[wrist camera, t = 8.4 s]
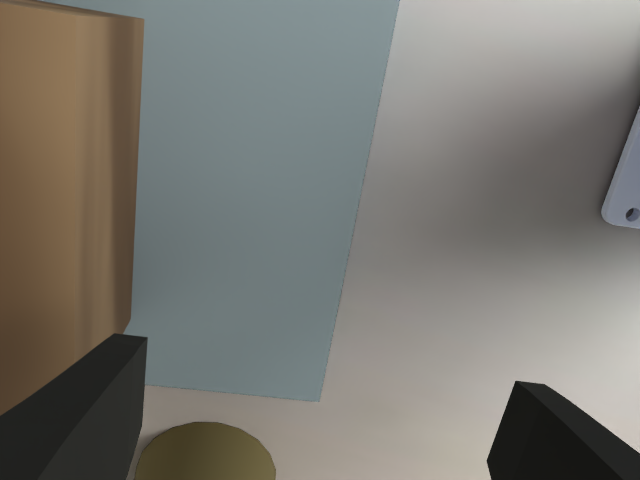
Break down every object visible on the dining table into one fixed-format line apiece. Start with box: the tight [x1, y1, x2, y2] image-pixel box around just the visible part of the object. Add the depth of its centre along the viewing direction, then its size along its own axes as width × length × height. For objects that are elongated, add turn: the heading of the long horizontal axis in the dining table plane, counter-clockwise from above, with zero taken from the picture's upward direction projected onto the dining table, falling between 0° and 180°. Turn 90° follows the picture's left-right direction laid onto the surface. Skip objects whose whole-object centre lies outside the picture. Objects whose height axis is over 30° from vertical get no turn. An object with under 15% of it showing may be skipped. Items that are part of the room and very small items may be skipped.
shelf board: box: [39, 0, 400, 402], centre depth 16 cm, size 14×23×4 cm, turn 171°
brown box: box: [0, 0, 144, 415], centre depth 15 cm, size 4×10×6 cm, turn 170°
